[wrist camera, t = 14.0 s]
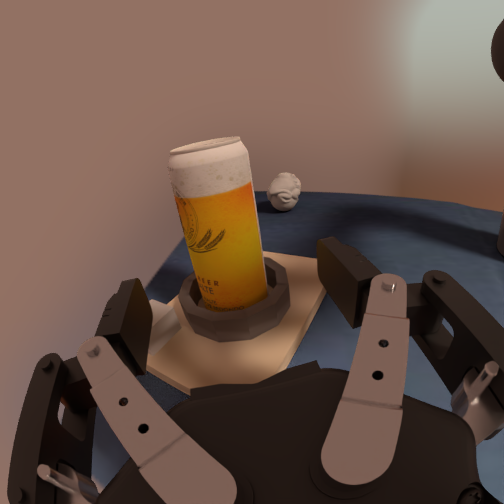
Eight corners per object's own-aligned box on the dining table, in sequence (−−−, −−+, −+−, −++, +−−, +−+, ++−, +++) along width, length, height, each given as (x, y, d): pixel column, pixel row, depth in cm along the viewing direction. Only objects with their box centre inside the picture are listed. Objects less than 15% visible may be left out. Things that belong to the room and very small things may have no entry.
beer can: (201, 297, 28) (162, 150, 21) (255, 279, 29) (231, 135, 22) (216, 335, 23) (167, 155, 15) (280, 311, 24) (258, 136, 17)
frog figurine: (309, 206, 51) (306, 170, 47) (287, 218, 47) (282, 179, 43) (285, 201, 55) (281, 168, 51) (261, 213, 51) (256, 177, 47)
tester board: (234, 256, 37) (229, 230, 36) (335, 272, 31) (335, 241, 29) (126, 357, 23) (108, 327, 21) (251, 425, 16) (241, 398, 14)
